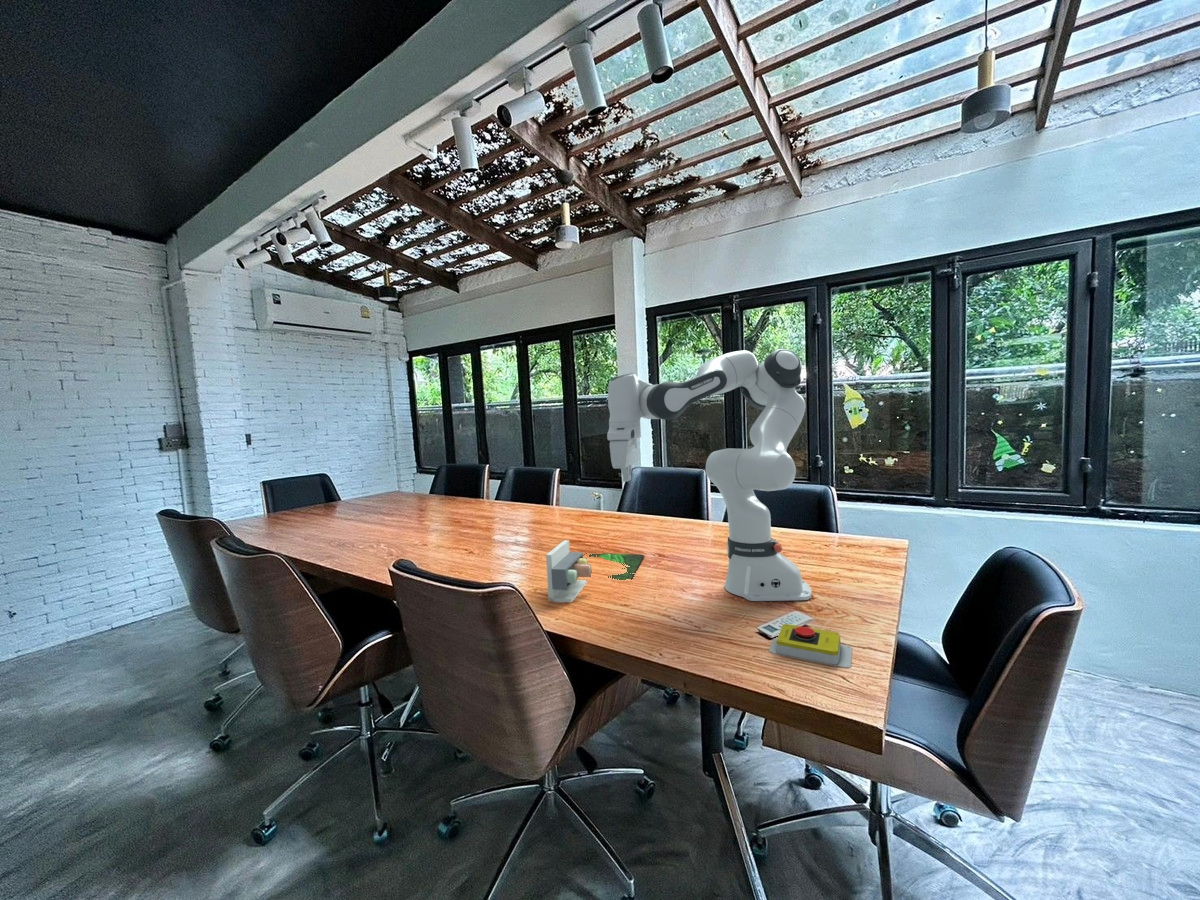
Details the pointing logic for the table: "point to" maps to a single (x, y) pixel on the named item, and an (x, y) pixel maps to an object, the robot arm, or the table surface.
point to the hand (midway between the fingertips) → (627, 480)
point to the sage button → (571, 576)
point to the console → (562, 573)
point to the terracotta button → (582, 570)
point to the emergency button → (812, 645)
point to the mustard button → (582, 561)
